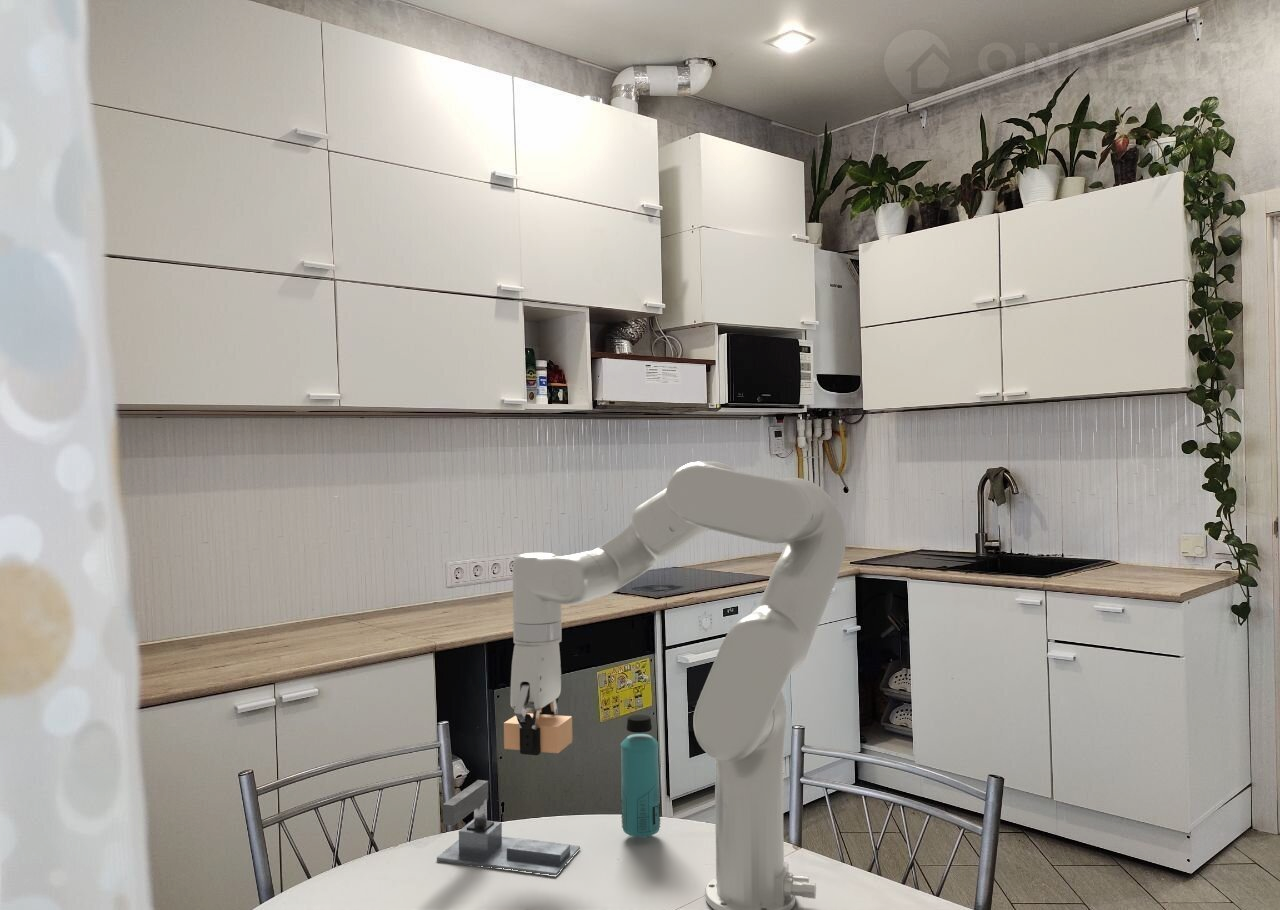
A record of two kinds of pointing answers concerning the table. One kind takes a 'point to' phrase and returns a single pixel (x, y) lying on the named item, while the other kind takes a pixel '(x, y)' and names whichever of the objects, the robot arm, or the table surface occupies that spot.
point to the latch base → (506, 851)
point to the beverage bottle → (640, 779)
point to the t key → (468, 805)
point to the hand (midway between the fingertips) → (538, 746)
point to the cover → (542, 733)
